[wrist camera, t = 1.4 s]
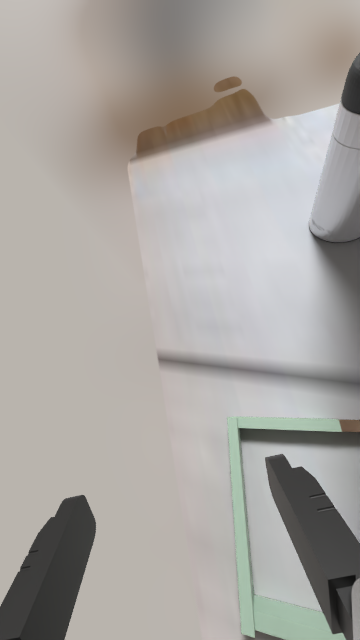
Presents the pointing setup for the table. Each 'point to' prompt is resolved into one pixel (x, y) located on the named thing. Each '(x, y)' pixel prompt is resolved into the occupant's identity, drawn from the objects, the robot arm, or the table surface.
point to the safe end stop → (255, 611)
